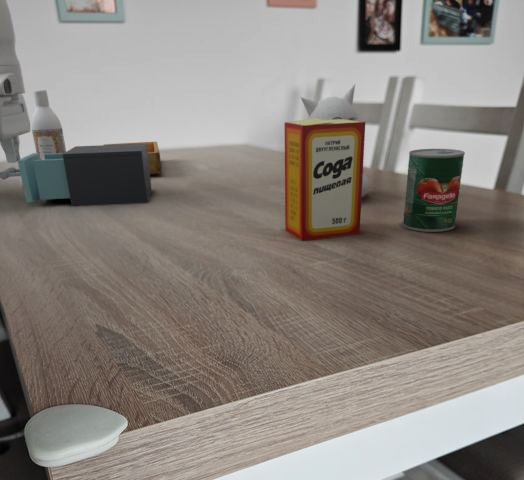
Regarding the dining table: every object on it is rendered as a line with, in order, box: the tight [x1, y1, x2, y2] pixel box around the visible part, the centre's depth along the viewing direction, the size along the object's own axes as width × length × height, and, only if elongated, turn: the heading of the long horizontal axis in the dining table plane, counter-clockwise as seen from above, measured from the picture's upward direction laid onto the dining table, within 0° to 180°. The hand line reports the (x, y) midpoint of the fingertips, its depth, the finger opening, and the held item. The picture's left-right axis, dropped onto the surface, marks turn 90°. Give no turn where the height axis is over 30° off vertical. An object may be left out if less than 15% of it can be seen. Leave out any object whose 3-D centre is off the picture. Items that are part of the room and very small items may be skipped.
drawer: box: [0, 152, 70, 204], centre depth 111 cm, size 18×11×8 cm, turn 96°
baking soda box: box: [284, 118, 366, 241], centre depth 81 cm, size 10×6×16 cm
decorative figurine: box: [300, 83, 371, 199], centre depth 103 cm, size 15×15×20 cm
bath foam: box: [31, 89, 67, 160], centre depth 134 cm, size 7×7×20 cm
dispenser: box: [63, 144, 152, 207], centre depth 112 cm, size 15×13×10 cm
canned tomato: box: [402, 148, 466, 233], centre depth 84 cm, size 8×8×11 cm
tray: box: [103, 141, 163, 175], centre depth 147 cm, size 31×15×6 cm, turn 11°
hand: (14, 161), depth 109 cm, fingers closed
